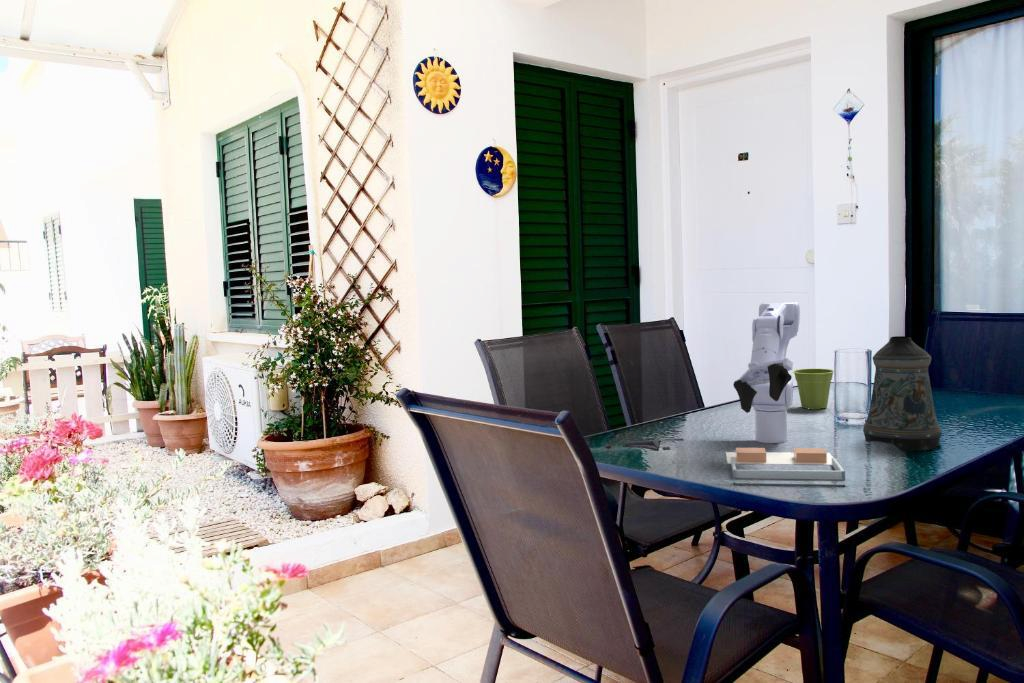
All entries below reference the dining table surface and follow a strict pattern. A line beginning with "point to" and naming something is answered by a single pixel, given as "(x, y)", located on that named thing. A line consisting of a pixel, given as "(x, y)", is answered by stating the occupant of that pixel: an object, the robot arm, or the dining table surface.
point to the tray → (790, 475)
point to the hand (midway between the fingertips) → (759, 404)
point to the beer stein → (902, 398)
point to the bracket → (651, 442)
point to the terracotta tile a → (750, 454)
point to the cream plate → (777, 459)
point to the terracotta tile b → (810, 455)
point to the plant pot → (813, 387)
